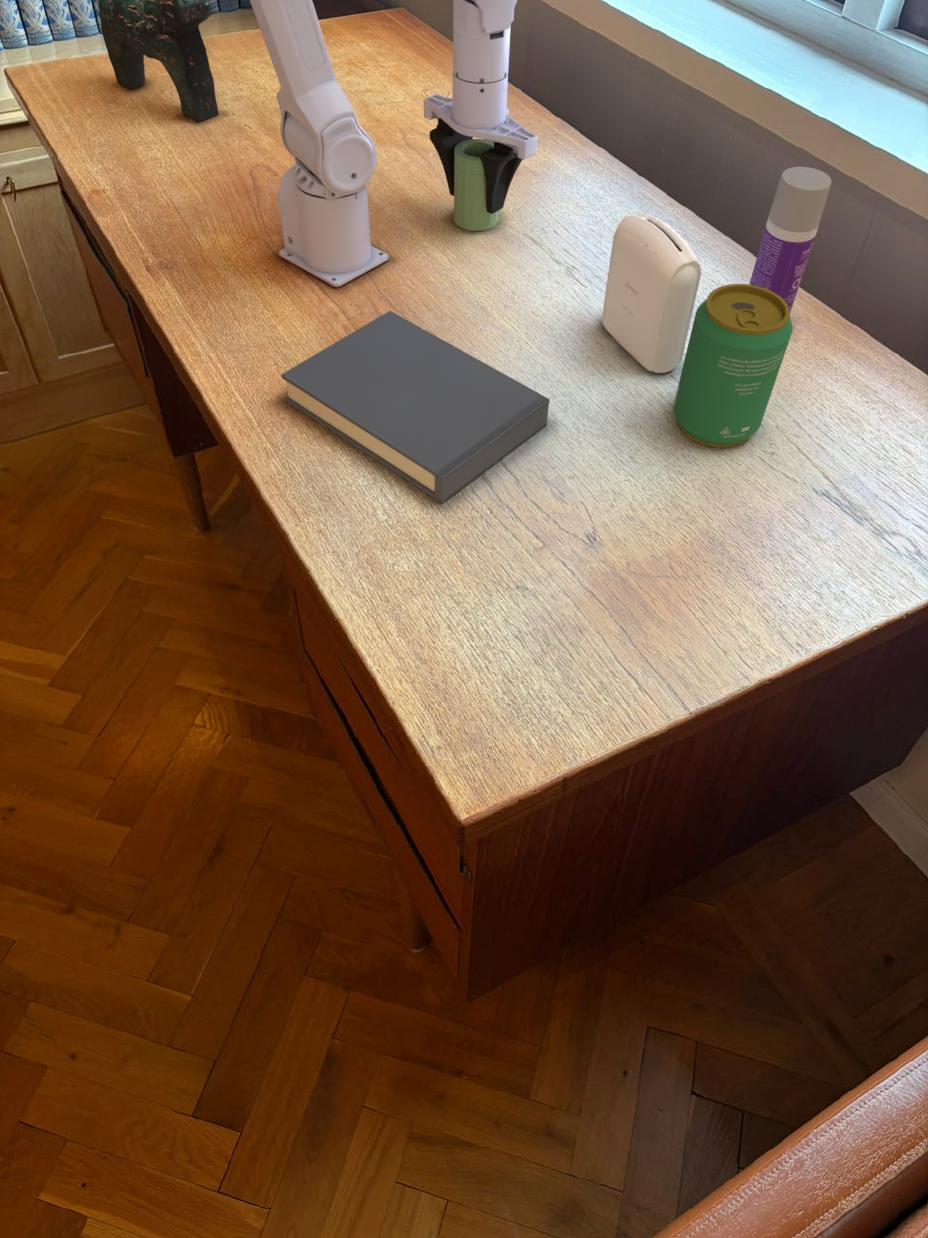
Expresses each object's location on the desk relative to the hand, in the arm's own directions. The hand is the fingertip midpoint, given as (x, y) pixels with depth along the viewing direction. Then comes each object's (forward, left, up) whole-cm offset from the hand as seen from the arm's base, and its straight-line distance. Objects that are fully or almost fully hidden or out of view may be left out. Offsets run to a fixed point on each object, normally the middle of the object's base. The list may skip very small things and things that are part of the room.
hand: (476, 201), depth 107 cm
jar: (0, 0, -2) cm, 2 cm away
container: (+35, +5, -2) cm, 35 cm away
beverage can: (+40, -12, -2) cm, 42 cm away
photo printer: (+28, -7, -2) cm, 29 cm away
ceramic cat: (-51, -6, -2) cm, 51 cm away
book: (+19, -30, -2) cm, 36 cm away
